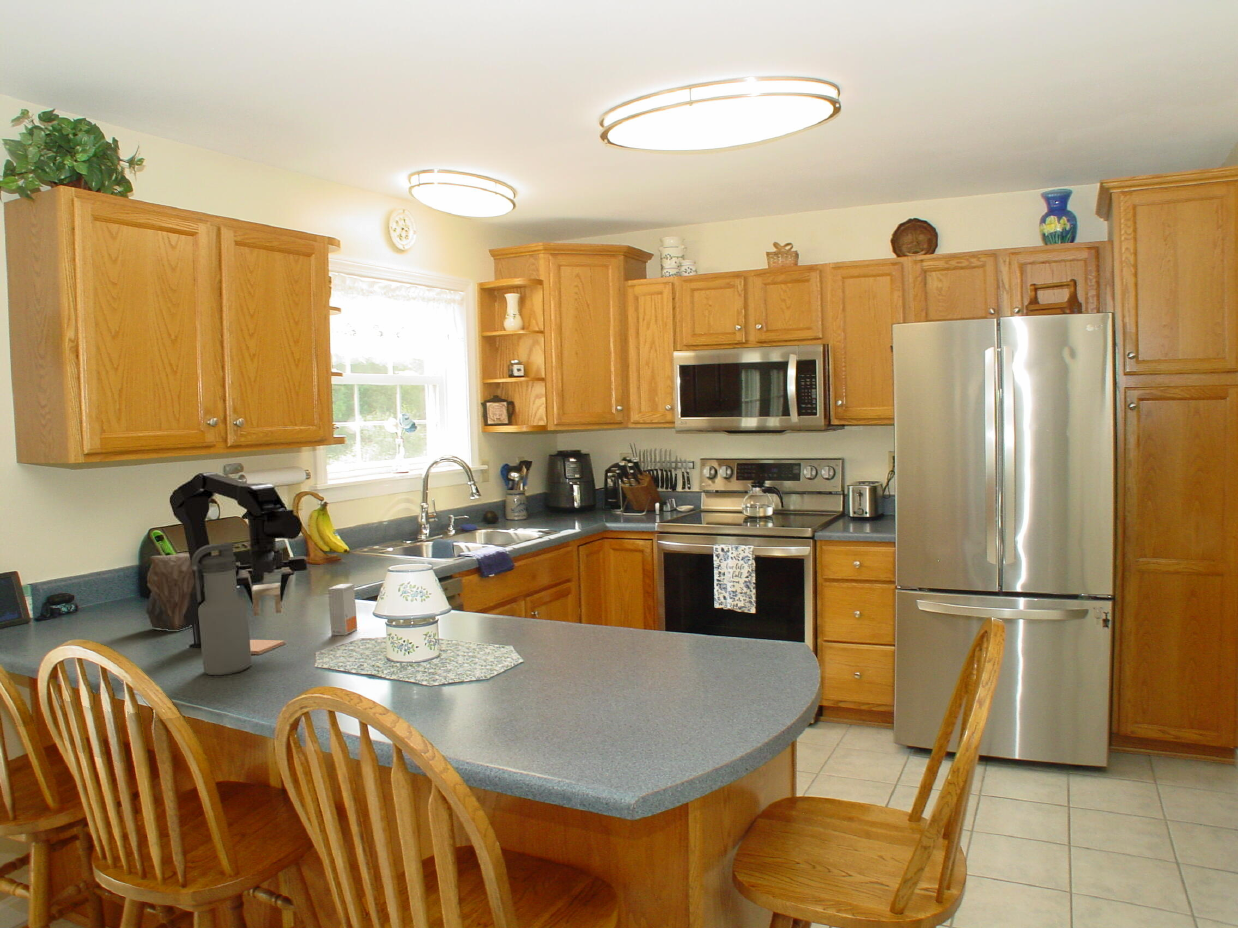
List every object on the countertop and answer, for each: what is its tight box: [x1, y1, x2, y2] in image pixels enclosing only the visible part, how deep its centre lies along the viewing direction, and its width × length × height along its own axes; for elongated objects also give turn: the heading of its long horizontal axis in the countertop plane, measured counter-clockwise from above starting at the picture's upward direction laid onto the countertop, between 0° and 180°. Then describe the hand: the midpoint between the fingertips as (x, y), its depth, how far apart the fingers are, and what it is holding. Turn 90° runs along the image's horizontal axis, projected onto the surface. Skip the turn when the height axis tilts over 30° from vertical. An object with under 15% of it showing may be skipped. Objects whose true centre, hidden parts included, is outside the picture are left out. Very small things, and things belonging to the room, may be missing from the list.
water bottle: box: [192, 541, 252, 676], centre depth 192 cm, size 10×10×28 cm
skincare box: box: [327, 583, 358, 636], centre depth 220 cm, size 6×4×12 cm
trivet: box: [250, 639, 286, 655], centre depth 210 cm, size 10×9×1 cm
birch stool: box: [252, 582, 283, 617], centre depth 205 cm, size 6×6×6 cm
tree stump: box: [145, 551, 194, 630], centre depth 240 cm, size 13×13×20 cm
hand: (267, 602), depth 206 cm, fingers closed on birch stool, 6 cm apart
